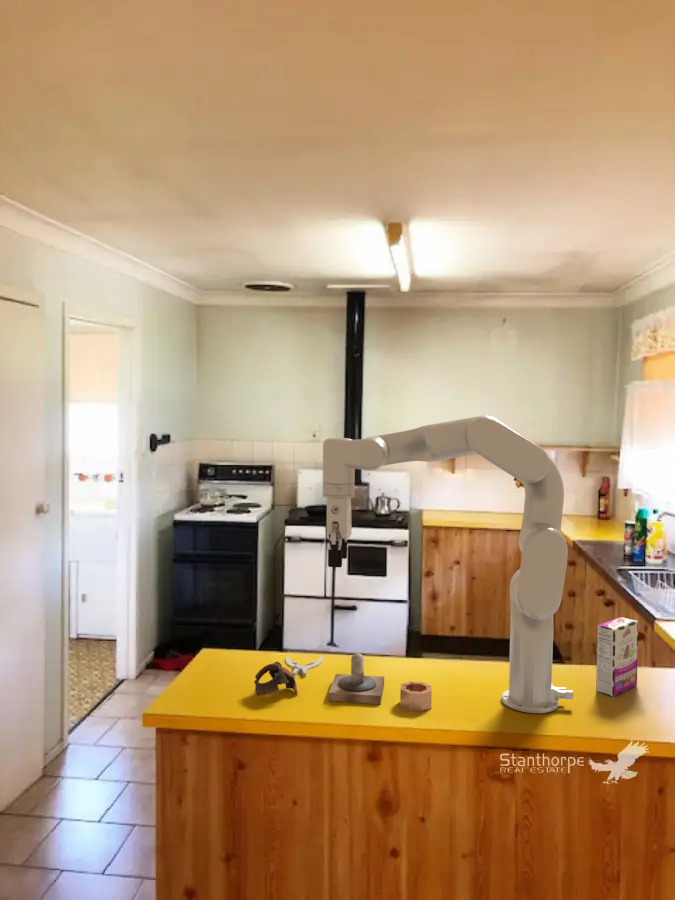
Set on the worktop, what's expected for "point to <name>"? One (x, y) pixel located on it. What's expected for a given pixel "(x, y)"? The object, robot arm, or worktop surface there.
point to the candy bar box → (617, 656)
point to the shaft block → (357, 685)
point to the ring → (415, 696)
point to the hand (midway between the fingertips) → (337, 562)
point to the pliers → (301, 668)
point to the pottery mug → (274, 679)
